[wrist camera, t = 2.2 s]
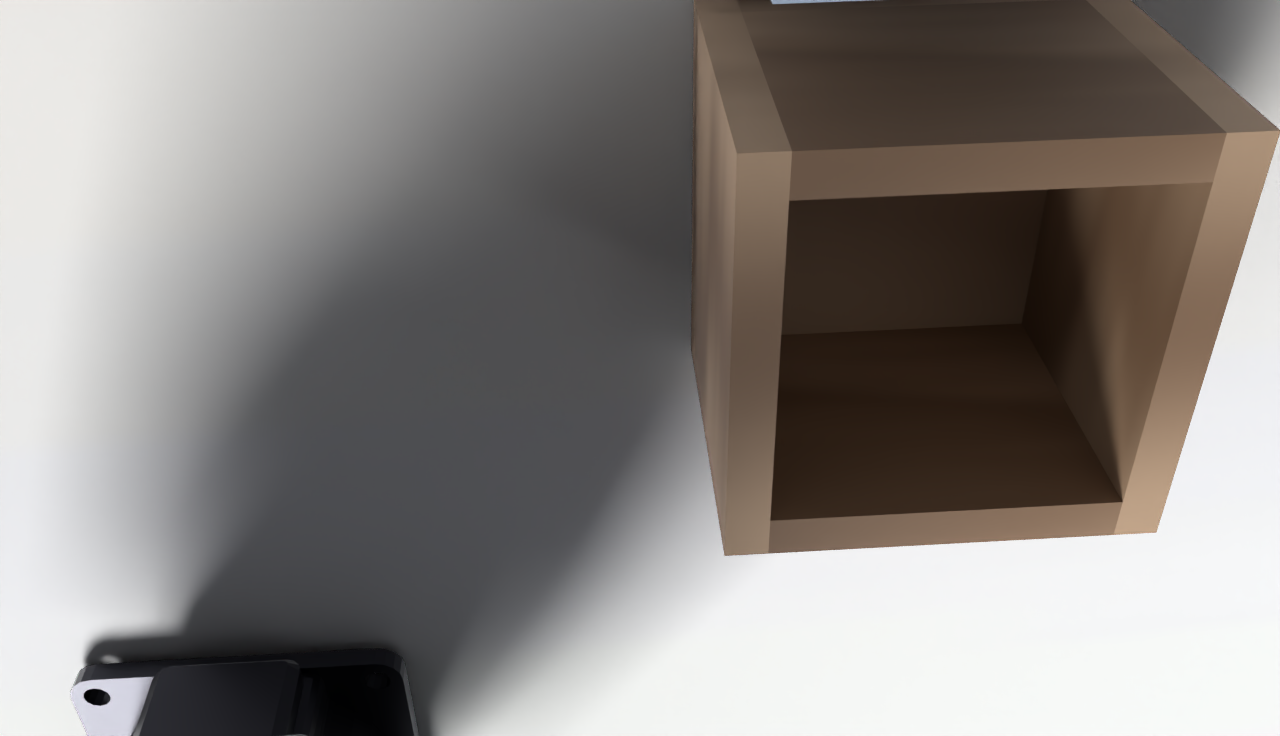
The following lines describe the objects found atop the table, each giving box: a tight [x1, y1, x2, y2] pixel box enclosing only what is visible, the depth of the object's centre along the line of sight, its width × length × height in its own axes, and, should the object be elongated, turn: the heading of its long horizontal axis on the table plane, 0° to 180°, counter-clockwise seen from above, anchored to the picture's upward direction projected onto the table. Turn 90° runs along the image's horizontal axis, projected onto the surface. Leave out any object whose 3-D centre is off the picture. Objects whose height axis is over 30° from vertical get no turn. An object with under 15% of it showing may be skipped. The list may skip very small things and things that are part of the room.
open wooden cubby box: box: [691, 0, 1280, 556], centre depth 17 cm, size 6×6×5 cm
